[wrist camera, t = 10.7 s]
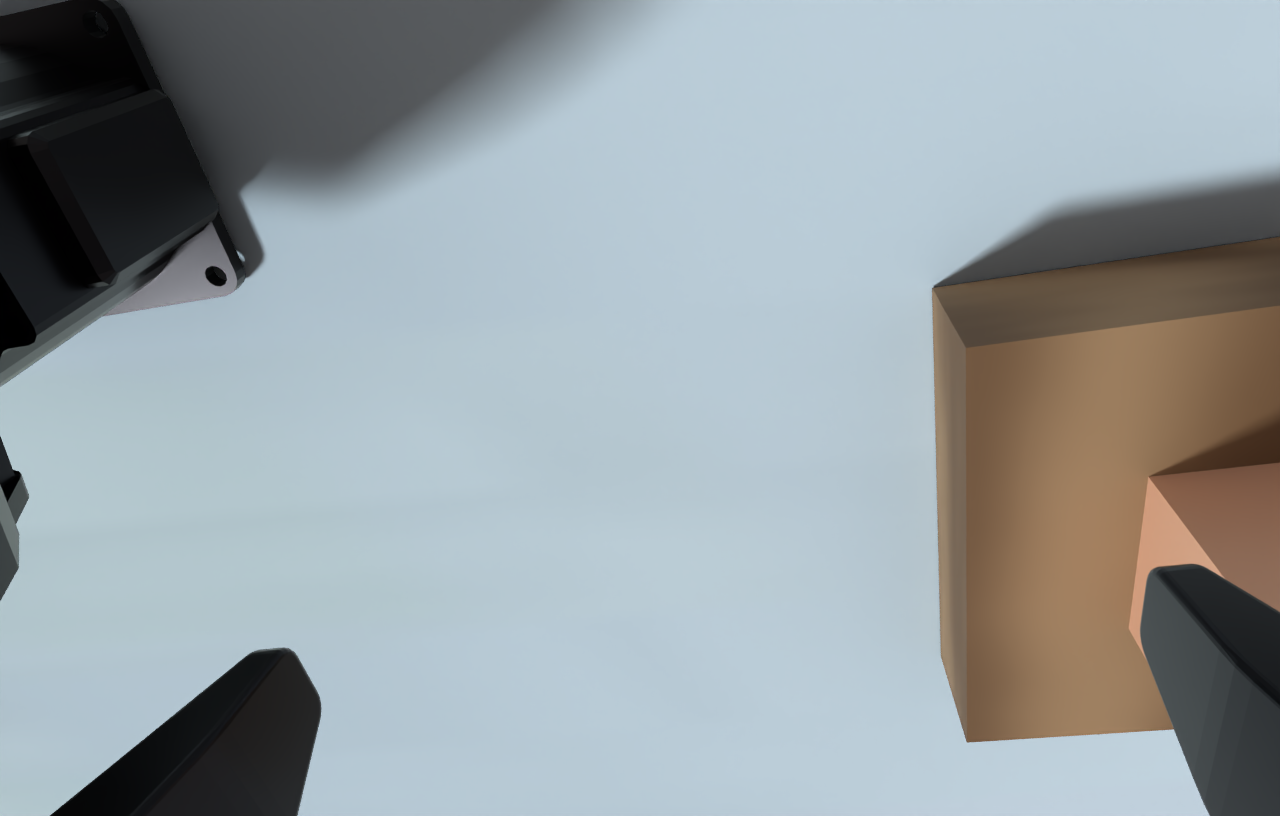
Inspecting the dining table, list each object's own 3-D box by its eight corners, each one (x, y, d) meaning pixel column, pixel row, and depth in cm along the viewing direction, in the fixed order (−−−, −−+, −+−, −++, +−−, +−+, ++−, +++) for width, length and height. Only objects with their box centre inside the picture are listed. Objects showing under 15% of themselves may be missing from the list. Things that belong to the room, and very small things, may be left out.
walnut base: (940, 656, 25) (966, 742, 23) (931, 287, 19) (965, 347, 17) (1391, 620, 23) (1475, 710, 21) (1535, 199, 17) (1679, 251, 15)
